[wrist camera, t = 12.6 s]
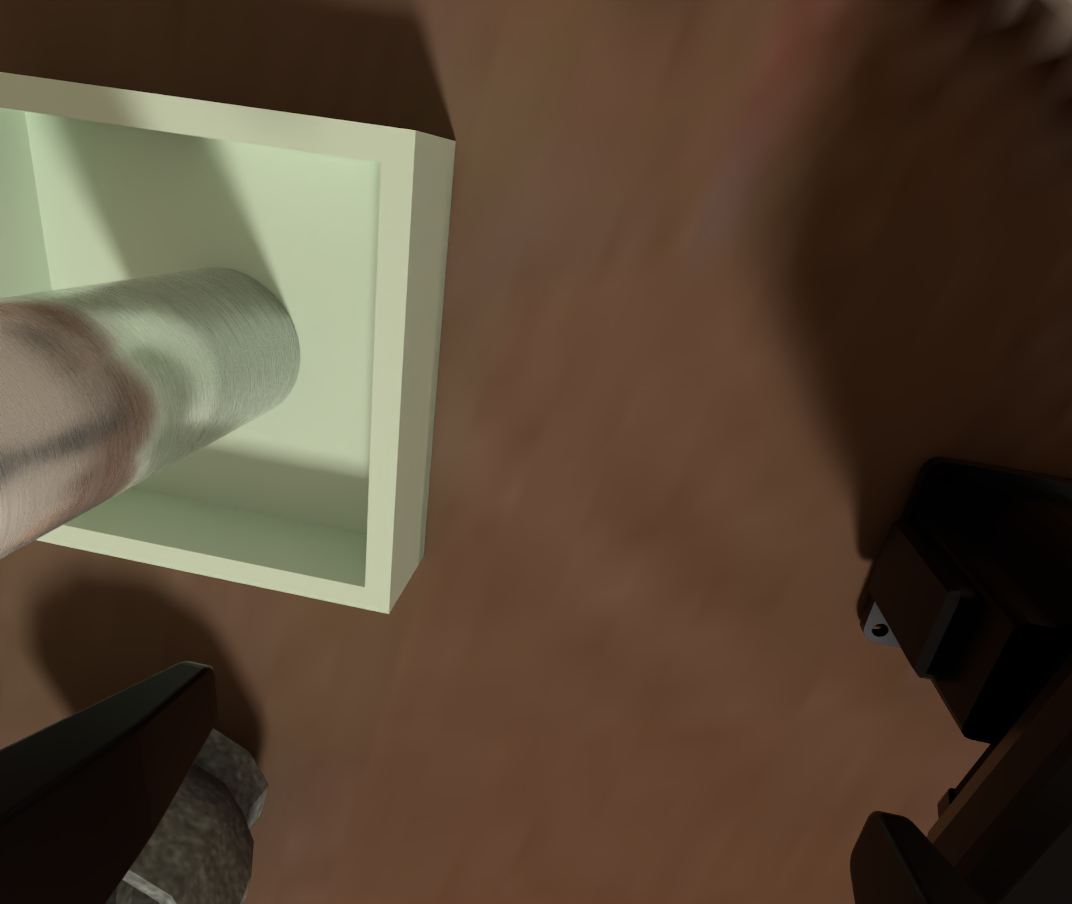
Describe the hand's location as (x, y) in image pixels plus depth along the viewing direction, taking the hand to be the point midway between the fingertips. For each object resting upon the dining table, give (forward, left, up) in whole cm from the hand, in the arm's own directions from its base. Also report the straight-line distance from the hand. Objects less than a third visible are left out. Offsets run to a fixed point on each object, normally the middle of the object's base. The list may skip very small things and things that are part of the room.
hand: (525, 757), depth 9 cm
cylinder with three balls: (+12, -1, -12) cm, 17 cm away
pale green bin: (+12, -1, -13) cm, 18 cm away
